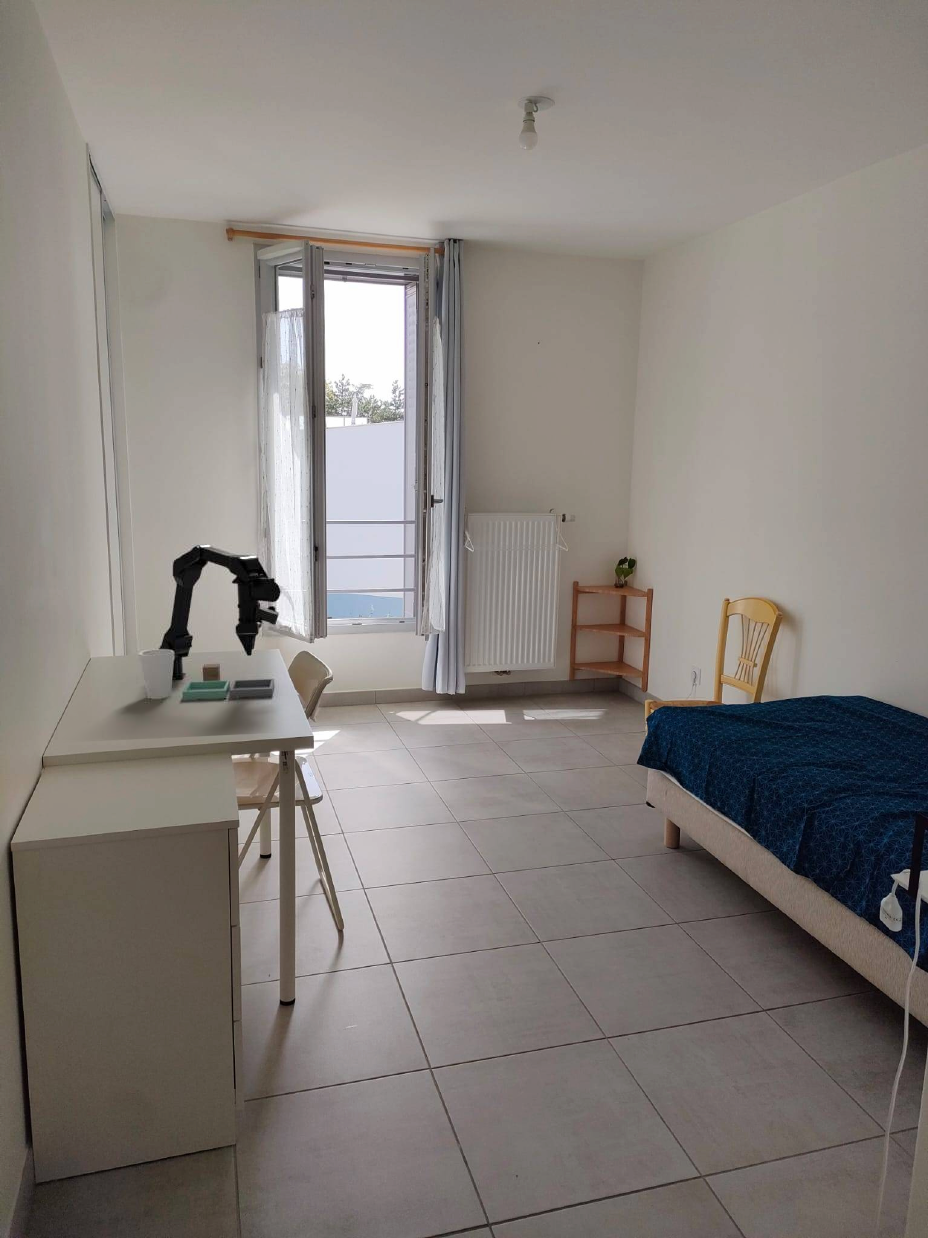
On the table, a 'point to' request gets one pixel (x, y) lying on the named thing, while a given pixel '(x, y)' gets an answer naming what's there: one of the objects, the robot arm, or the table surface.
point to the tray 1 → (206, 690)
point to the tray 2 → (252, 688)
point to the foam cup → (157, 672)
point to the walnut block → (211, 672)
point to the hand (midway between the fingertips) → (250, 652)
